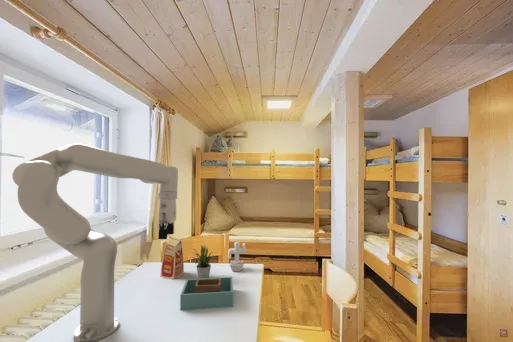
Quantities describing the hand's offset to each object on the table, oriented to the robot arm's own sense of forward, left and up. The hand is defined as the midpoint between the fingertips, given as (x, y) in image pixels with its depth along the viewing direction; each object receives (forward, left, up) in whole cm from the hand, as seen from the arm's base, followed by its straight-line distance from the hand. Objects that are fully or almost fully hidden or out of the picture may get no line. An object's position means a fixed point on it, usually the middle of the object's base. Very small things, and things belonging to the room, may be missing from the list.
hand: (166, 236), depth 105 cm
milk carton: (+25, +2, -26) cm, 36 cm away
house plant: (+20, -13, -26) cm, 35 cm away
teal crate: (-3, -18, -26) cm, 32 cm away
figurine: (+28, -31, -26) cm, 49 cm away
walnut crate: (-3, -18, -25) cm, 31 cm away
